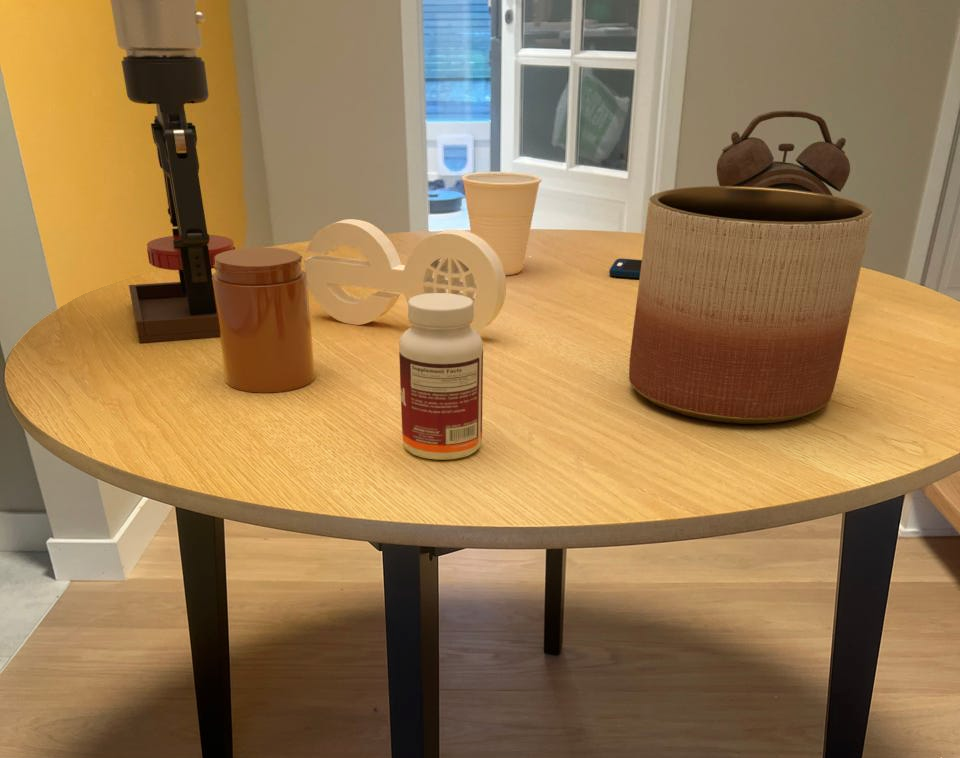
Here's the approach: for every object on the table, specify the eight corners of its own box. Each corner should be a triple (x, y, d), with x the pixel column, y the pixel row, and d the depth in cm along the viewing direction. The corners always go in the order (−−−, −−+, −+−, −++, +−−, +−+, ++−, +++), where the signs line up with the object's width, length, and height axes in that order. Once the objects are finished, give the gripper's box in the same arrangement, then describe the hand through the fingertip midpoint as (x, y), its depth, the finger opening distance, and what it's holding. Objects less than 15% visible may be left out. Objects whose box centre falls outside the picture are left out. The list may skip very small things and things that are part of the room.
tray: (139, 343, 94) (135, 321, 93) (132, 304, 106) (128, 284, 105) (274, 332, 98) (272, 311, 96) (252, 295, 110) (250, 277, 108)
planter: (874, 409, 82) (925, 213, 73) (717, 445, 74) (754, 231, 65) (733, 353, 94) (762, 180, 85) (587, 379, 87) (603, 192, 78)
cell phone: (615, 263, 126) (616, 257, 126) (721, 271, 123) (722, 265, 123) (607, 276, 120) (608, 269, 120) (718, 284, 117) (719, 278, 117)
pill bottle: (418, 427, 76) (415, 286, 70) (491, 437, 75) (495, 293, 69) (390, 456, 71) (384, 307, 65) (467, 467, 70) (469, 315, 64)
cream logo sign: (504, 339, 97) (507, 234, 91) (496, 344, 95) (499, 239, 90) (319, 313, 104) (312, 214, 98) (309, 318, 102) (300, 218, 97)
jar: (231, 396, 81) (214, 269, 76) (220, 368, 88) (204, 249, 82) (323, 387, 84) (313, 263, 78) (306, 361, 90) (295, 244, 84)
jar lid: (230, 250, 103) (228, 232, 102) (241, 267, 96) (238, 249, 95) (147, 254, 101) (144, 236, 100) (151, 272, 94) (148, 253, 93)
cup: (445, 269, 122) (444, 176, 116) (498, 258, 128) (500, 169, 122) (500, 283, 116) (502, 186, 110) (552, 271, 122) (558, 178, 116)
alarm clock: (701, 317, 105) (731, 113, 94) (687, 301, 111) (714, 107, 100) (829, 319, 106) (874, 115, 94) (809, 302, 112) (848, 109, 100)
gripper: (216, 59, 81) (248, 326, 94) (192, 49, 98) (222, 276, 110) (124, 59, 79) (170, 332, 91) (116, 49, 95) (155, 281, 108)
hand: (199, 301), depth 101 cm, fingers closed on jar lid, 9 cm apart
